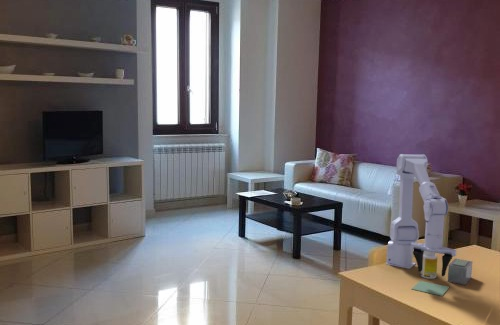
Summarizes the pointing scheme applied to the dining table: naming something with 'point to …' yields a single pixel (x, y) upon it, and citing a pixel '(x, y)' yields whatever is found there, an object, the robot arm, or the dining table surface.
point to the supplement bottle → (429, 265)
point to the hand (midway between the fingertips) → (431, 273)
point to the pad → (430, 288)
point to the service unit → (460, 271)
